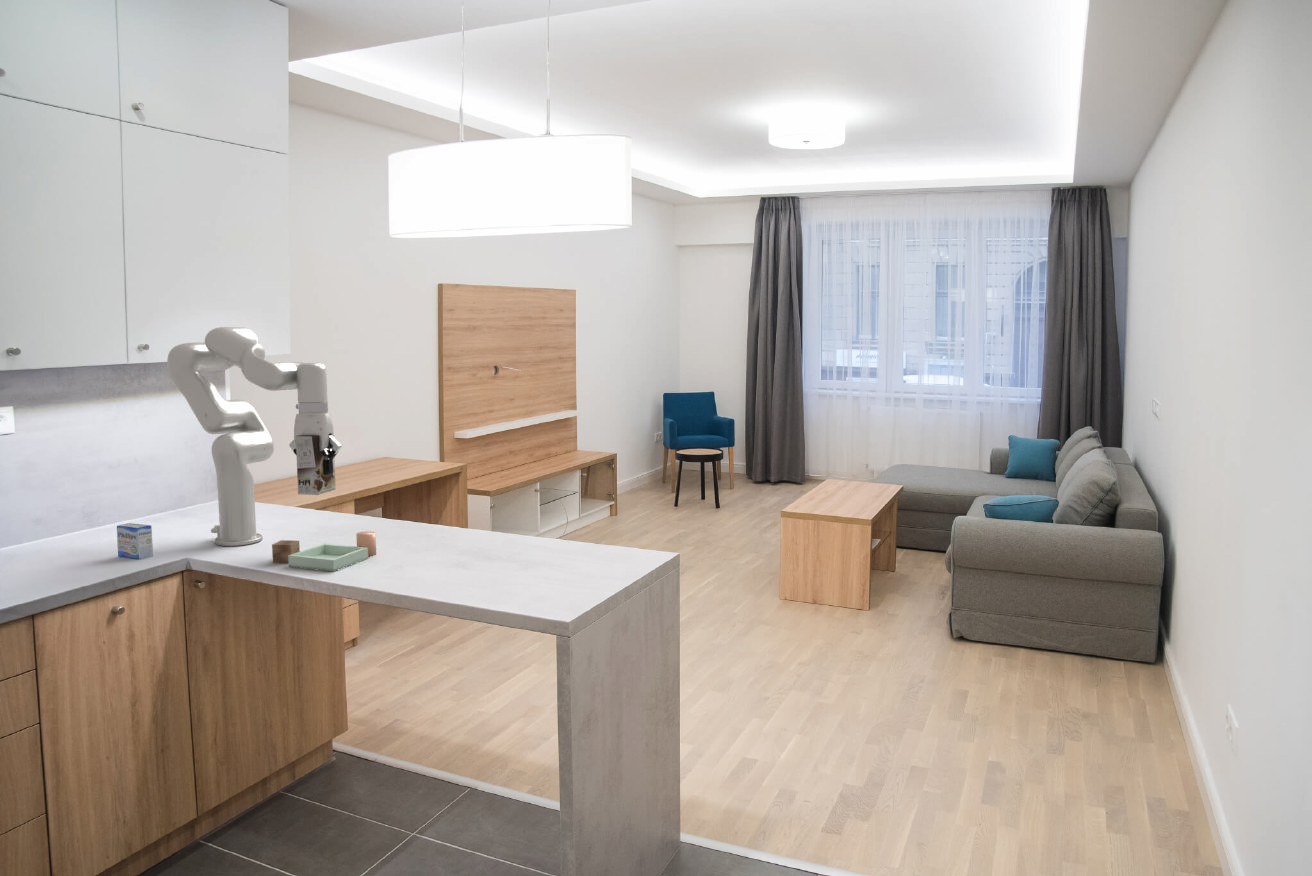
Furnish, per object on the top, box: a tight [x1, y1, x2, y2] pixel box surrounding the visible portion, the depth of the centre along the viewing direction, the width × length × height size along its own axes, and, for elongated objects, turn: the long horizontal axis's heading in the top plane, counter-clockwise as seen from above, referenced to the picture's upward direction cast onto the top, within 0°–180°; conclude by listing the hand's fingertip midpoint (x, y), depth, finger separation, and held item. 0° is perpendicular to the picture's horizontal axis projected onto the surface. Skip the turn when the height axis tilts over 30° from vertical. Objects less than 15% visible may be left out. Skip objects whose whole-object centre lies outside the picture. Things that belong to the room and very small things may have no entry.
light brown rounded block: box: [356, 530, 377, 558], centre depth 246 cm, size 5×5×6 cm
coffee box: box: [295, 435, 337, 496], centre depth 247 cm, size 9×6×16 cm
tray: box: [288, 543, 369, 572], centre depth 238 cm, size 14×14×3 cm
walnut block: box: [271, 539, 301, 564], centre depth 239 cm, size 5×5×5 cm
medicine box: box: [116, 522, 154, 560], centre depth 243 cm, size 8×4×9 cm, turn 70°
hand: (316, 473), depth 247 cm, fingers closed on coffee box, 6 cm apart
